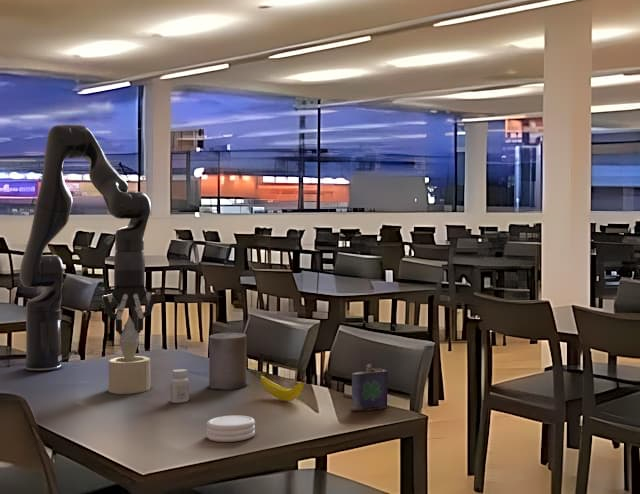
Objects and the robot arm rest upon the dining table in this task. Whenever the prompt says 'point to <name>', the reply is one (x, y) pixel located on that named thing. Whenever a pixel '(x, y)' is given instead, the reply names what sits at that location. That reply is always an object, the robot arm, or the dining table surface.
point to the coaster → (230, 428)
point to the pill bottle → (179, 386)
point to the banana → (282, 389)
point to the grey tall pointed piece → (129, 340)
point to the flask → (369, 389)
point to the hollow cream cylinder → (129, 375)
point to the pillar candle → (227, 361)
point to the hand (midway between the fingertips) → (129, 332)
